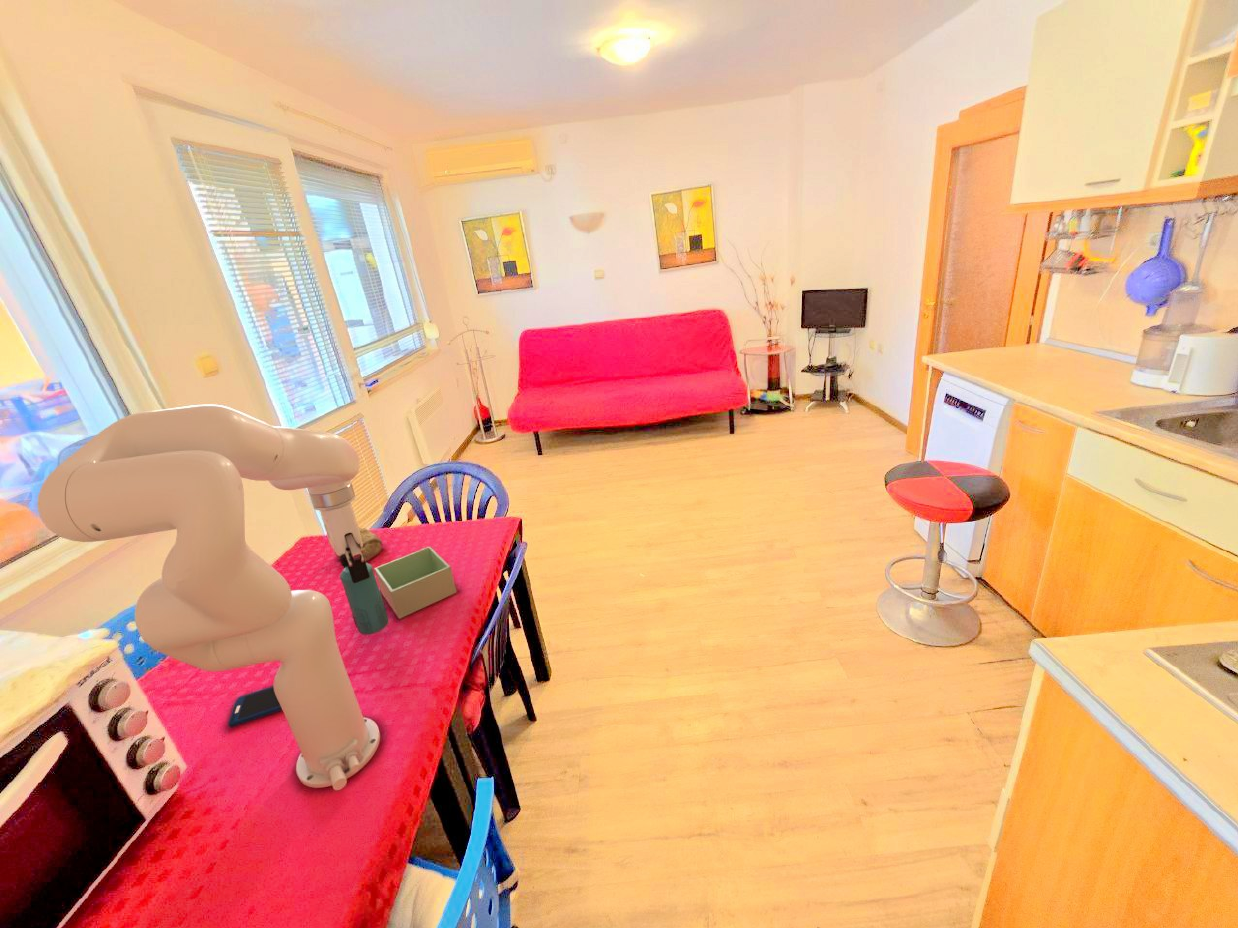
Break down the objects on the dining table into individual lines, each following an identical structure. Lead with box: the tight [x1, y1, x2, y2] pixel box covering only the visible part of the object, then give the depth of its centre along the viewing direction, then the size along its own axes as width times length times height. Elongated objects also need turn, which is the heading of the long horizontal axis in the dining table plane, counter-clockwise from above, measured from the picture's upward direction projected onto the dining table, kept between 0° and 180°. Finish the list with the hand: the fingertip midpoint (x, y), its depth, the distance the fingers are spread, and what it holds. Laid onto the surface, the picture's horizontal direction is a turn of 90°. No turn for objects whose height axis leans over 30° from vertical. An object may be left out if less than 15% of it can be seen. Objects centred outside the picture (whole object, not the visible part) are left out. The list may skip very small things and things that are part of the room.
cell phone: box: [227, 685, 283, 728], centre depth 97 cm, size 7×14×1 cm, turn 114°
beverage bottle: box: [339, 550, 389, 636], centre depth 108 cm, size 6×7×20 cm
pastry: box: [333, 526, 383, 563], centre depth 147 cm, size 14×12×8 cm
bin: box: [373, 546, 457, 620], centre depth 126 cm, size 14×14×8 cm
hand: (356, 572), depth 106 cm, fingers closed on beverage bottle, 6 cm apart
